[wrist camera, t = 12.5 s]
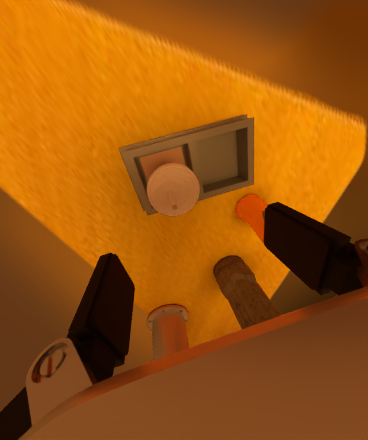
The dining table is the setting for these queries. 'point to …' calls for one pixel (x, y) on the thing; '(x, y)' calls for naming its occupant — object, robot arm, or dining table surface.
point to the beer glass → (253, 213)
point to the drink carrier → (197, 157)
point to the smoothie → (173, 189)
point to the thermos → (243, 292)
